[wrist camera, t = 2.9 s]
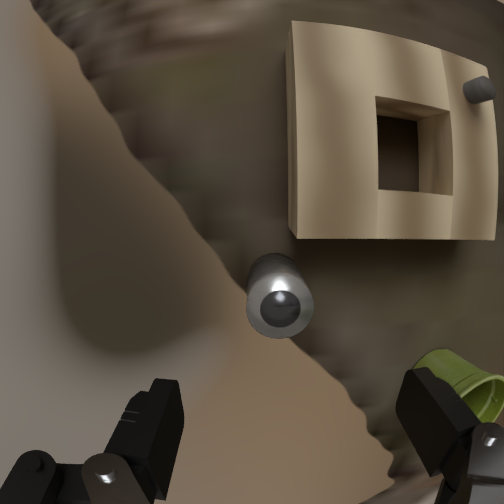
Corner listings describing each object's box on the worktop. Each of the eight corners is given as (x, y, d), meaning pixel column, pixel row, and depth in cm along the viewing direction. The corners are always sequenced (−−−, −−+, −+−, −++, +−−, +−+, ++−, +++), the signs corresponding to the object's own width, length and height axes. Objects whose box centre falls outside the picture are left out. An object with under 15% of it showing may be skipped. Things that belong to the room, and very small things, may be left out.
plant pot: (377, 377, 26) (411, 437, 17) (450, 314, 24) (502, 357, 16) (411, 417, 27) (440, 467, 19) (472, 364, 26) (513, 405, 17)
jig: (454, 80, 19) (501, 61, 12) (459, 229, 22) (510, 245, 15) (284, 50, 19) (295, 5, 13) (288, 226, 22) (302, 245, 16)
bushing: (300, 252, 23) (315, 276, 17) (299, 301, 24) (311, 337, 18) (248, 253, 23) (245, 277, 17) (248, 302, 24) (247, 339, 18)
